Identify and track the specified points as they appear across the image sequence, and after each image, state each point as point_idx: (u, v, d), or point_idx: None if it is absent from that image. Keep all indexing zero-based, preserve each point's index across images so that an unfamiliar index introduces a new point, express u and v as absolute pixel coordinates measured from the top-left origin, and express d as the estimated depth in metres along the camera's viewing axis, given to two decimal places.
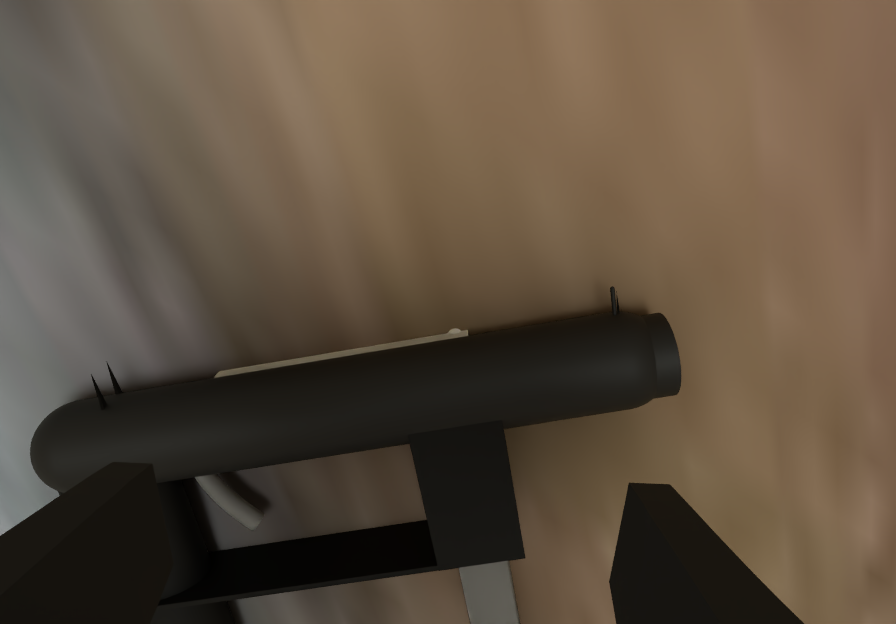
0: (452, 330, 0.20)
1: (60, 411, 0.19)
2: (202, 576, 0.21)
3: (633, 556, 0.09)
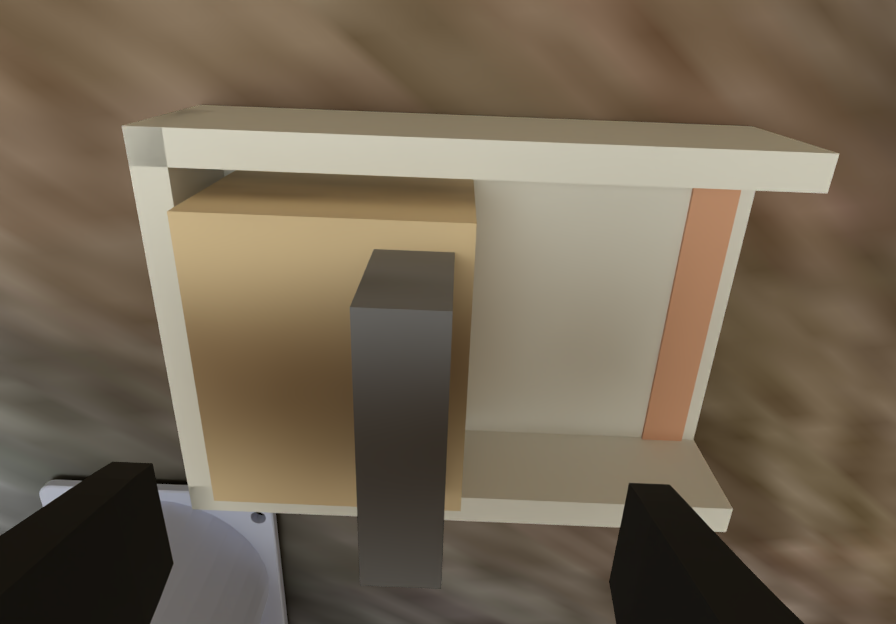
0: None
1: None
2: None
3: (633, 556, 0.09)
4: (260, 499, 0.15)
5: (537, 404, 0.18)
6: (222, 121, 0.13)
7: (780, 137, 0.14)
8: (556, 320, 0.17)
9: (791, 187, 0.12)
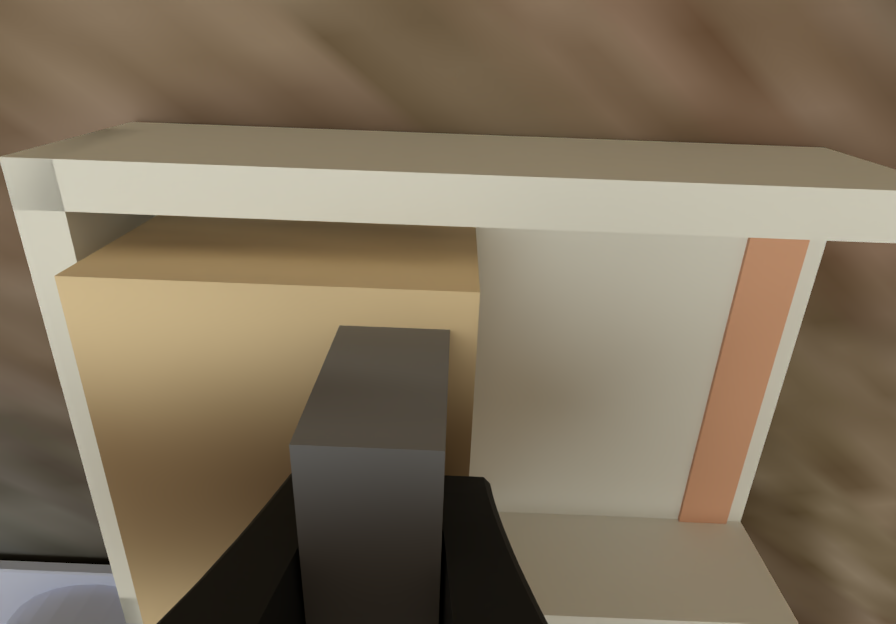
0: None
1: None
2: None
3: None
4: None
5: (552, 481, 0.15)
6: (144, 147, 0.10)
7: (873, 165, 0.11)
8: (577, 384, 0.14)
9: None
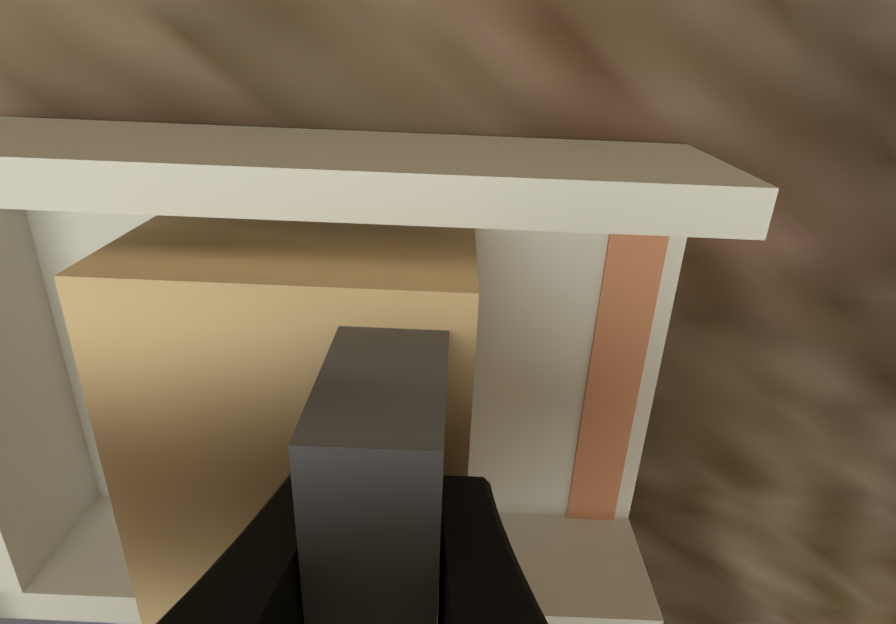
0: None
1: None
2: None
3: None
4: None
5: None
6: None
7: (713, 161, 0.11)
8: None
9: (716, 232, 0.09)
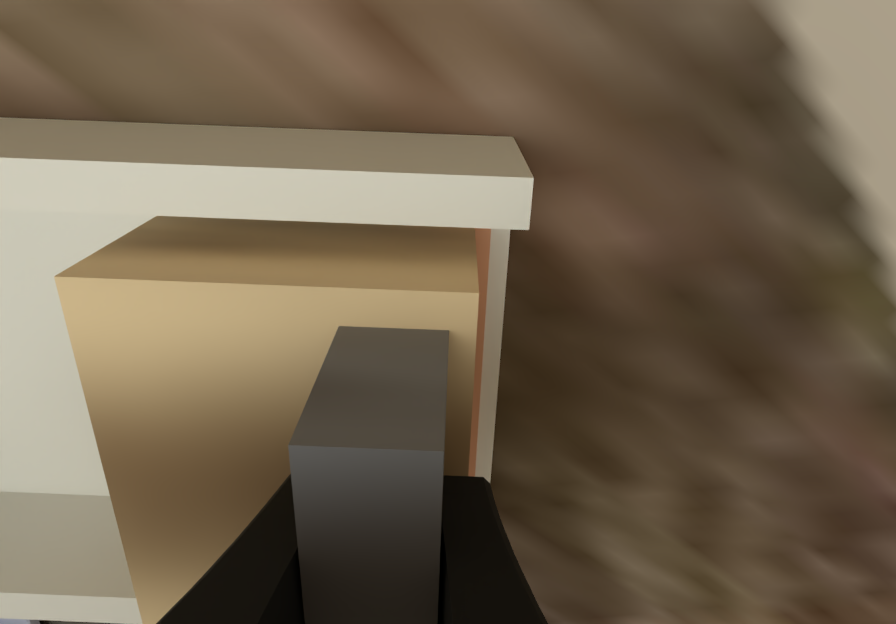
0: None
1: None
2: None
3: None
4: None
5: None
6: None
7: (509, 153, 0.11)
8: None
9: (480, 222, 0.09)
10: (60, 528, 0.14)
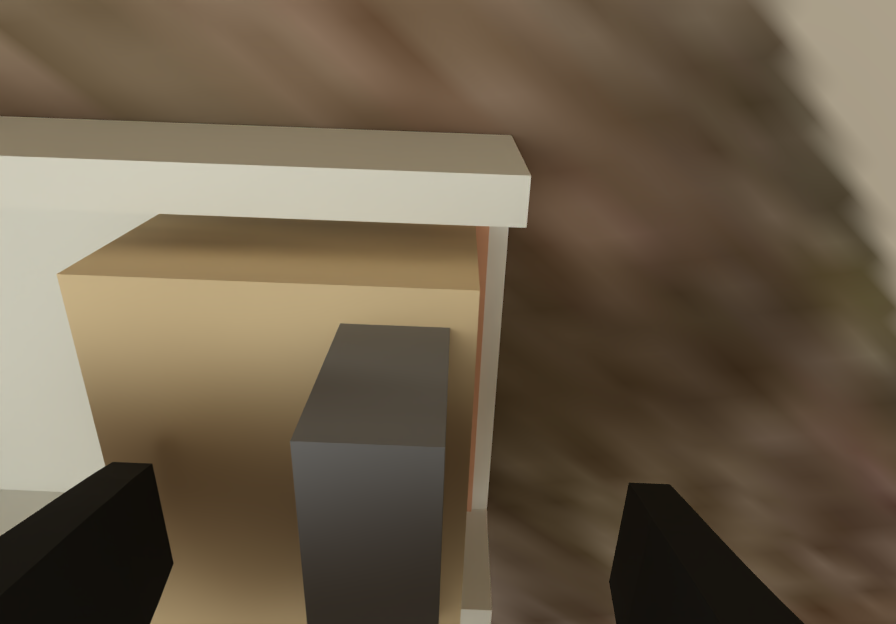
0: None
1: None
2: None
3: (633, 556, 0.09)
4: None
5: None
6: None
7: (507, 151, 0.11)
8: None
9: (478, 220, 0.09)
10: None
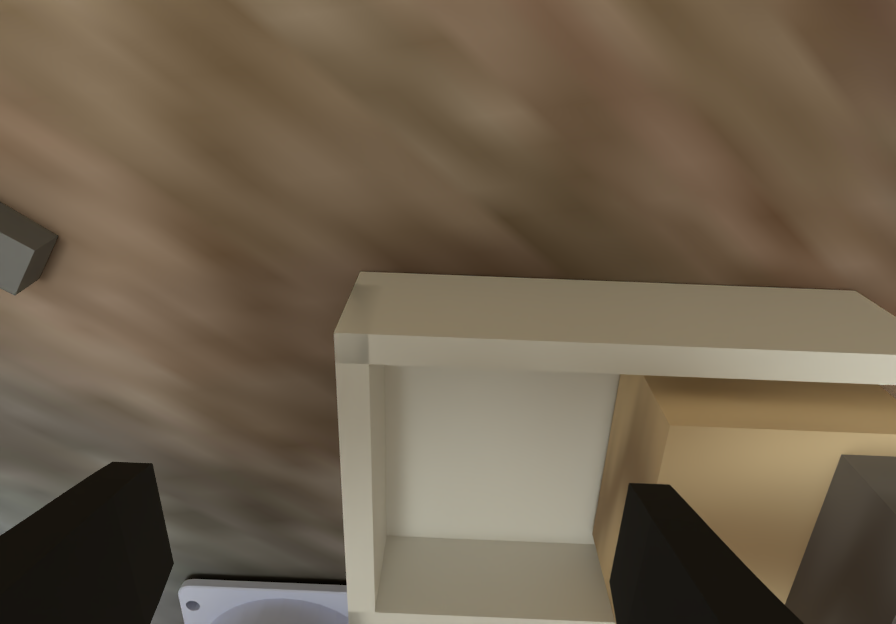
0: None
1: None
2: None
3: (633, 556, 0.09)
4: None
5: None
6: (407, 314, 0.15)
7: (891, 319, 0.16)
8: None
9: None
10: (484, 567, 0.19)
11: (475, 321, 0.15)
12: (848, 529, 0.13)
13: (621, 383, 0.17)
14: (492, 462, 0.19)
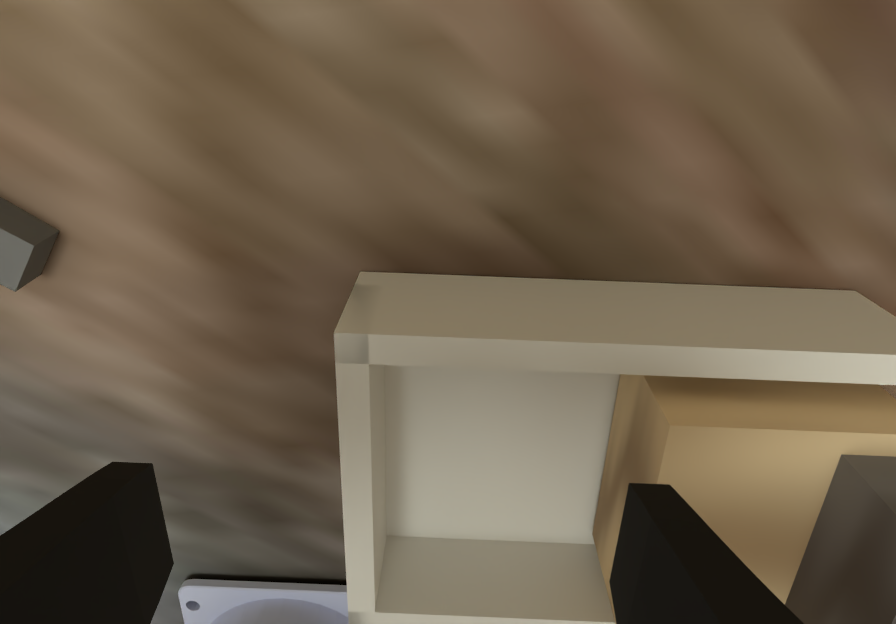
0: None
1: None
2: None
3: (633, 556, 0.09)
4: None
5: None
6: (407, 314, 0.15)
7: (891, 319, 0.16)
8: None
9: None
10: (484, 567, 0.19)
11: (475, 321, 0.15)
12: (848, 529, 0.13)
13: (621, 383, 0.17)
14: (492, 462, 0.19)
